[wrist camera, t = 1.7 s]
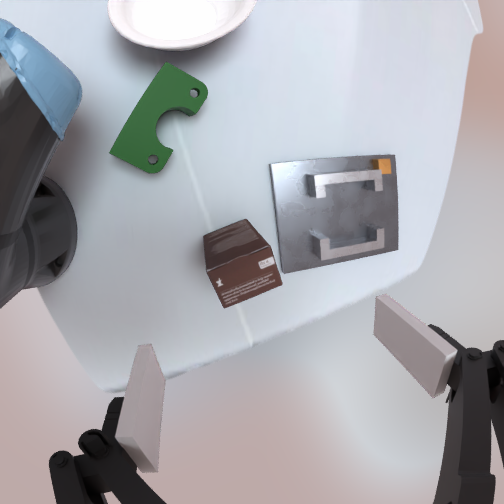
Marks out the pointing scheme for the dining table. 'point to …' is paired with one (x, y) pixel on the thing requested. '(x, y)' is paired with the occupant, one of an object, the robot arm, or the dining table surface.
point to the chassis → (335, 209)
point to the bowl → (177, 21)
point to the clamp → (157, 117)
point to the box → (239, 263)
